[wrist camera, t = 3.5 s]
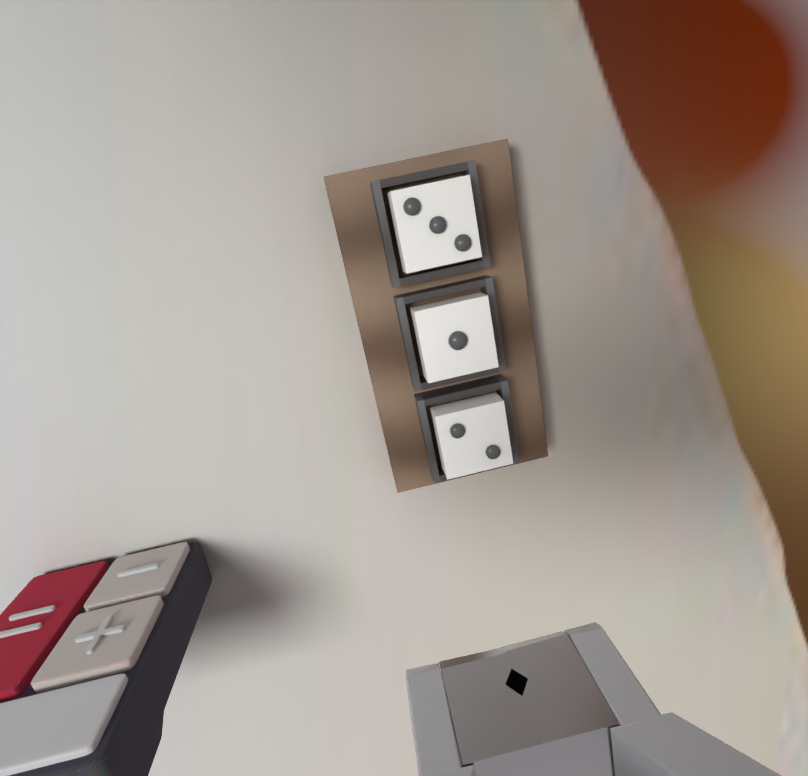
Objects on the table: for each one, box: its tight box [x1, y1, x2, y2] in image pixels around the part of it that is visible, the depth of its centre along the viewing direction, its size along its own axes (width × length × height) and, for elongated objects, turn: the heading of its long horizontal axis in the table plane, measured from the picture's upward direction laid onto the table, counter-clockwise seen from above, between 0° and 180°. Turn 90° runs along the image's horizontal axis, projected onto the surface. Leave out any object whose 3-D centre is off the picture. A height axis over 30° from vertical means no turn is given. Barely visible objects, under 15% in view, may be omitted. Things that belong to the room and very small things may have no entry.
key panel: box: [324, 139, 548, 493], centre depth 30 cm, size 19×10×3 cm, turn 12°
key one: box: [410, 292, 499, 383], centre depth 28 cm, size 4×4×2 cm
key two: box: [430, 392, 513, 480], centre depth 30 cm, size 4×4×2 cm
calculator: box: [0, 542, 212, 776], centre depth 27 cm, size 11×4×15 cm, turn 101°
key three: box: [387, 175, 482, 274], centre depth 26 cm, size 4×4×2 cm
